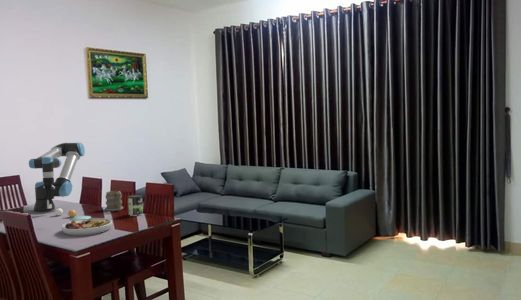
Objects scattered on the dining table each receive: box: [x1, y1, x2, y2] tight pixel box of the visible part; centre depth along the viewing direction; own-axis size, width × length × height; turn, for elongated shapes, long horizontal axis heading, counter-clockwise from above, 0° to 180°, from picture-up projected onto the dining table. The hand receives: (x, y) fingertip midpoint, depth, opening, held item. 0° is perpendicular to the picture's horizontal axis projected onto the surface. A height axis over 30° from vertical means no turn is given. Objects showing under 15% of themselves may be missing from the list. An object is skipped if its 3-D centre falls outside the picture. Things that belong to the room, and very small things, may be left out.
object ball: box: [67, 209, 77, 218], centre depth 314 cm, size 6×6×6 cm
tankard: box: [104, 190, 124, 212], centre depth 338 cm, size 20×13×15 cm, turn 40°
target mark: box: [69, 215, 92, 221], centre depth 310 cm, size 14×14×1 cm
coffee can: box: [127, 194, 144, 217], centre depth 319 cm, size 10×10×14 cm
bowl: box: [61, 217, 113, 237], centre depth 275 cm, size 30×30×8 cm
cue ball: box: [54, 207, 64, 216], centre depth 321 cm, size 6×6×6 cm
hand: (49, 208), depth 325 cm, fingers closed
